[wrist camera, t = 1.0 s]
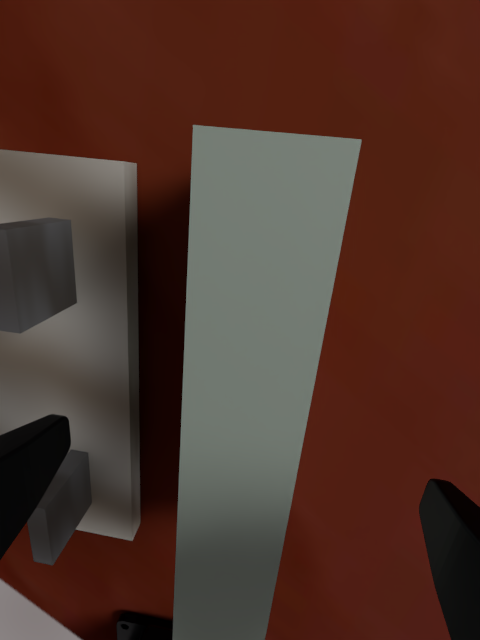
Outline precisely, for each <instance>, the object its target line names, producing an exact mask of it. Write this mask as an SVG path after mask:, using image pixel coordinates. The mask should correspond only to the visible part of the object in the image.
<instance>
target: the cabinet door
mask: <svg viewBox="0 0 480 640" xmlns="http://www.w3.org/2000/svg"><path fill="white" fill-rule="evenodd" d="M361 141H362V140H360V139H349V138H337V137H325V136H314V135H302V134H291V133H279V132H268V131H256V130H244V129H233V128H221V127H210V126H198V125H193V143H192V168H191V192H190V217H189V242H188V266H187V291H186V316H185V341H184V365H183V390H182V415H181V439H180V464H179V489H178V513H177V538H176V563H175V588H174V612H173V637H172V640H265V636H266V631H267V625H268V620H269V615H270V610H271V605H272V600H273V595H274V589H275V584H276V579H277V574H278V569H279V564H280V558H281V553H282V548H283V543H284V538H285V533H286V527H287V522H288V517H289V512H290V507H291V502H292V497H293V491H294V486H295V481H296V476H297V471H298V466H299V460H300V455H301V450H302V445H303V440H304V435H305V429H306V424H307V419H308V414H309V409H310V404H311V398H312V393H313V388H314V383H315V378H316V373H317V368H318V362H319V357H320V352H321V347H322V342H323V337H324V331H325V326H326V321H327V316H328V311H329V306H330V300H331V295H332V290H333V285H334V280H335V275H336V270H337V264H338V259H339V254H340V249H341V244H342V239H343V233H344V228H345V223H346V218H347V213H348V208H349V202H350V197H351V192H352V187H353V182H354V177H355V171H356V166H357V161H358V156H359V151H360V146H361Z"/></svg>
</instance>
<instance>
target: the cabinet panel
mask: <svg viewBox="0 0 480 640" xmlns="http://www.w3.org/2000/svg"><path fill="white" fill-rule="evenodd" d="M50 414H57V415H63V416H66V417H67V418H68V419H69V426H70V436H71V446H70V449H69V451H68V453H67V455H66V457H65V459H64V460H63V462H62V464H61V466H60V468H59V469H58V471H57V473H56V475H55V476H54V478H53V480H52V482H51V483H50V485H49V487H48V489H47V491H46V492H45V494H44V496H43V498H42V499H41V501H40V503H39V504H38V506H37V508H36V509H35V511H34V512H33V514H32V515H31V517H30V518H29V519H28V521H27V523H28V529H29V535H30V541H31V547H32V553H33V559H34V561H35V562H39V563H44V564H49V565H53V564H54V563H55V561H56V559H57V558H58V556H59V555H60V553H61V551H62V550H63V548H64V547H65V545H66V544H67V542H68V540H69V539H70V537H71V536H72V534H73V532H74V531H75V529H76V530H81V531H86V532H91V533H96V534H101V535H106V536H111V537H116V538H121V539H126V540H131V541H132V540H133V538H134V536H135V534H136V532H137V529H138V527H139V525H140V437H139V338H138V240H137V163H130V162H123V161H112V160H102V159H92V158H82V157H71V156H61V155H51V154H41V153H31V152H20V151H10V150H0V435H2V434H4V433H7V432H9V431H11V430H14V429H16V428H19V427H21V426H23V425H26V424H28V423H31V422H33V421H35V420H38V419H40V418H42V417H45V416H47V415H50Z"/></svg>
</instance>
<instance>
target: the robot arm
mask: <svg viewBox="0 0 480 640" xmlns="http://www.w3.org/2000/svg"><path fill="white" fill-rule="evenodd" d="M70 446H71V436H70V426H69V419H68V418H67V417H66V416H63V415H57V414H50V415H47V416H45V417H42V418H40V419H38V420H35V421H33V422H31V423H28V424H26V425H23V426H21V427H19V428H16V429H14V430H11V431H9V432H7V433H4V434H2V435H0V560H1V558H2V557H3V555H4V554H5V552H6V551H7V549H8V548H9V547H10V545H11V544H12V542H13V541H14V539H15V538H16V537H17V535H18V534H19V532H20V531H21V529H22V528H23V527H24V525H25V524H26V522H27V521H28V519H29V518H30V517H31V515H32V514H33V512H34V511H35V509H36V508H37V506H38V504H39V503H40V501H41V499H42V498H43V496H44V494H45V492H46V491H47V489H48V487H49V485H50V483H51V482H52V480H53V478H54V476H55V475H56V473H57V471H58V469H59V468H60V466H61V464H62V462H63V460H64V459H65V457H66V455H67V453H68V451H69V449H70ZM419 514H420V519H421V524H422V529H423V533H424V538H425V543H426V548H427V553H428V557H429V562H430V567H431V572H432V576H433V581H434V585H435V588H436V592H437V595H438V599H439V602H440V605H441V608H442V611H443V615H444V618H445V621H446V624H447V627H448V631H449V634H450V637H451V640H480V507H479V506H477V505H476V504H475V503H474V502H473V501H472V500H471V499H469V498H468V497H467V496H466V495H465V494H464V493H463V492H461V491H460V490H459V489H458V488H457V487H456V486H454V485H453V484H452V483H451V482H449V481H446V480H440V479H430V480H429V481H428V483H427V486H426V488H425V491H424V494H423V497H422V499H421V502H420V506H419ZM172 637H173V624H172V623H168V622H163V621H159V620H154V619H150V618H145V617H141V616H136V615H132V614H126V613H124V614H121V615H120V617H119V619H118V622H117V640H172Z"/></svg>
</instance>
